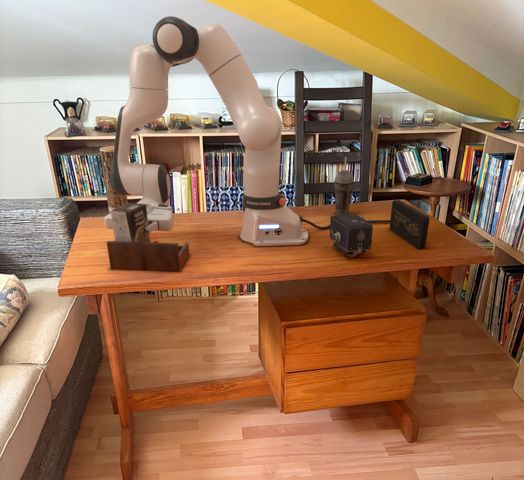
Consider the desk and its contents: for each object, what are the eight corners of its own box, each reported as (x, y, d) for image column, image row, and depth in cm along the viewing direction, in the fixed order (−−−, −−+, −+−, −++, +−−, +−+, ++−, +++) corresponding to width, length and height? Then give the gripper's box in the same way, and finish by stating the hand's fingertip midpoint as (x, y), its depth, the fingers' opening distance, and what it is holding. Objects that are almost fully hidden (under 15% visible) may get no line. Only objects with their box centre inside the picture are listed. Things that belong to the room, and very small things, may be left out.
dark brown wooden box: (189, 255, 163) (187, 229, 159) (179, 271, 152) (177, 244, 148) (125, 252, 165) (121, 227, 161) (110, 269, 153) (106, 242, 149)
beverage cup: (331, 216, 197) (335, 159, 187) (332, 210, 203) (336, 155, 193) (351, 216, 196) (356, 159, 186) (351, 211, 202) (356, 155, 192)
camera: (374, 261, 161) (351, 240, 172) (380, 225, 154) (356, 206, 166) (342, 265, 158) (321, 244, 169) (347, 229, 151) (325, 209, 163)
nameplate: (389, 228, 184) (392, 199, 179) (394, 228, 185) (397, 199, 179) (419, 249, 167) (424, 217, 162) (424, 248, 167) (429, 217, 162)
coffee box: (136, 268, 154) (129, 212, 146) (117, 265, 156) (109, 210, 148) (153, 257, 161) (147, 203, 153) (134, 254, 163) (127, 201, 155)
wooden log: (132, 218, 195) (123, 146, 182) (126, 224, 189) (116, 150, 176) (114, 218, 195) (103, 146, 183) (107, 224, 190) (96, 149, 177)
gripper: (111, 204, 165) (94, 217, 153) (176, 206, 163) (165, 219, 152) (114, 224, 168) (98, 239, 157) (178, 226, 167) (167, 241, 155)
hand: (131, 229), depth 154 cm, fingers open, 8 cm apart
